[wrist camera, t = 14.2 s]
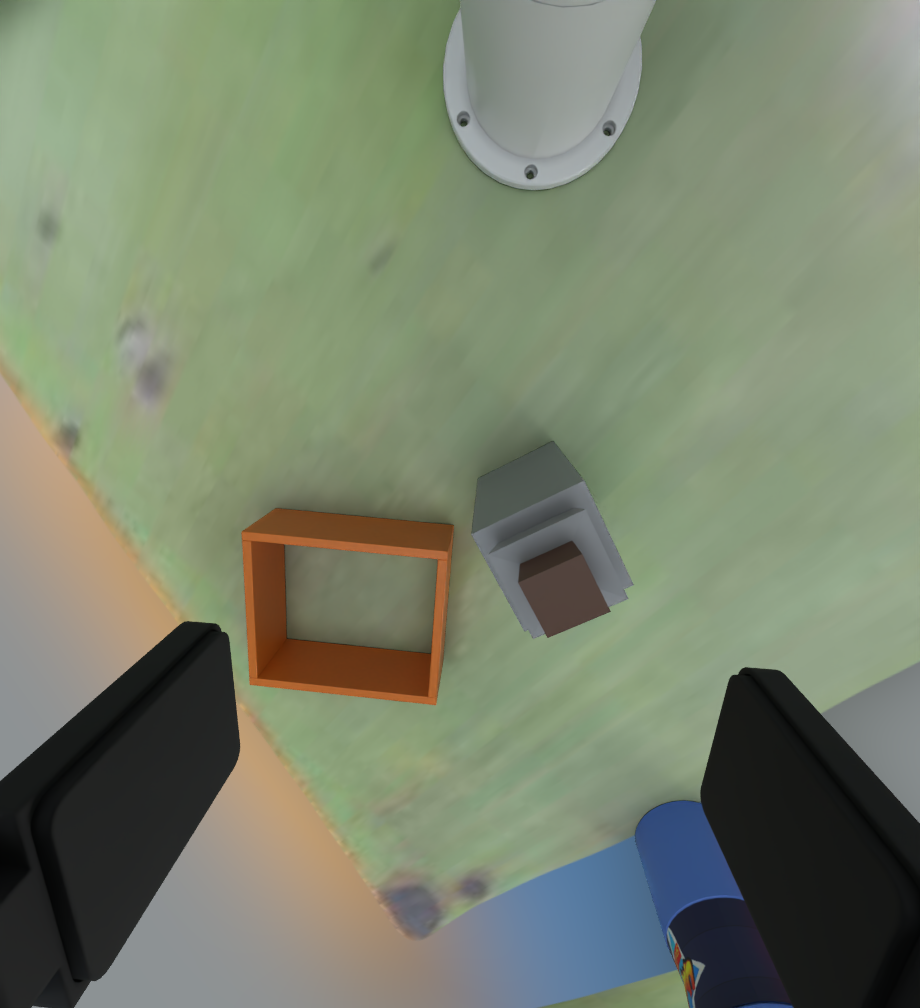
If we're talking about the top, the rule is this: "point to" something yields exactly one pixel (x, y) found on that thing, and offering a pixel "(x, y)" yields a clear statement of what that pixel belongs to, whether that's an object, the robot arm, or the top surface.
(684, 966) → the water bottle
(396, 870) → the top surface
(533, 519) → the perfume bottle
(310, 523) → the box
